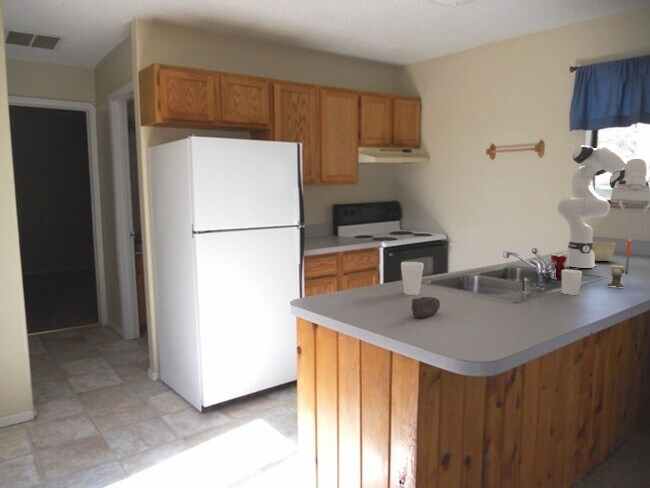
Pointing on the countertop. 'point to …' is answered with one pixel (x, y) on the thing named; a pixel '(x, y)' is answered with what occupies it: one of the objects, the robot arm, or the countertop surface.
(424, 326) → the countertop surface
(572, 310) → the countertop surface
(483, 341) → the countertop surface
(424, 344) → the countertop surface
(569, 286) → the white cup
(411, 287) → the foam cup
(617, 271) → the valve stand
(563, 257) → the soda can
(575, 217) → the robot arm
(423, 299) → the perforated stone tool
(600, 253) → the planter bowl
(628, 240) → the lever
